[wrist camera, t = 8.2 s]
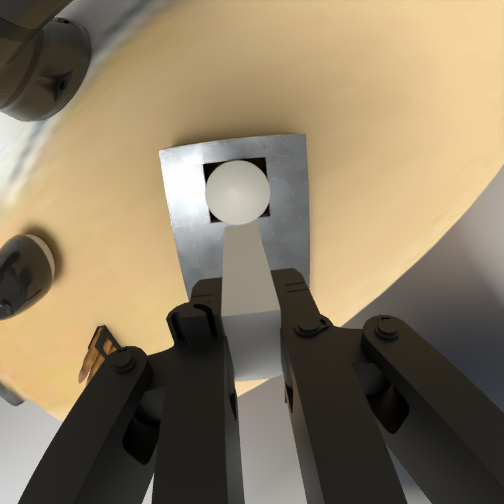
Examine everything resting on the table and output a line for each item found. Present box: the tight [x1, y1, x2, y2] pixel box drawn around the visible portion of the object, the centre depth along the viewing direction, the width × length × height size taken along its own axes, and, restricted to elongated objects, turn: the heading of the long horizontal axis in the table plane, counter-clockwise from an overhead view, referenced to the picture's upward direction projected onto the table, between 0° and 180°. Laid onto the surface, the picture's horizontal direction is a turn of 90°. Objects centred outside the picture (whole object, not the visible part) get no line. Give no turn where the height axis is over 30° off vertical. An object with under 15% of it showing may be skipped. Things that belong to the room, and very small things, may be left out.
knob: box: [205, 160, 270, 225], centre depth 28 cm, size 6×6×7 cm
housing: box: [159, 133, 310, 302], centre depth 32 cm, size 24×14×6 cm, turn 5°
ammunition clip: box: [78, 325, 121, 386], centre depth 36 cm, size 11×2×12 cm, turn 17°
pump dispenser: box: [0, 234, 55, 321], centre depth 26 cm, size 10×10×15 cm
